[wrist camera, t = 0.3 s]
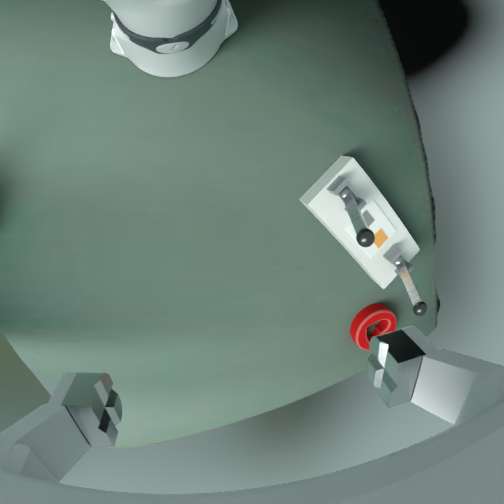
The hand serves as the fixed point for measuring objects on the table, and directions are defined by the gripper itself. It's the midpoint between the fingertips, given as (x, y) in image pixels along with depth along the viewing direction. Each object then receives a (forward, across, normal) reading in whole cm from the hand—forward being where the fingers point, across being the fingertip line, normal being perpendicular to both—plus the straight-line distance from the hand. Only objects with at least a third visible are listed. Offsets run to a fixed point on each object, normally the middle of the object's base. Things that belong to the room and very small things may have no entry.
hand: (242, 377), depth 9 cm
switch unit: (+41, -23, +7) cm, 48 cm away
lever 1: (+35, -18, +1) cm, 40 cm away
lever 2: (+36, -29, +13) cm, 48 cm away
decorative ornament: (+43, -27, +29) cm, 58 cm away
